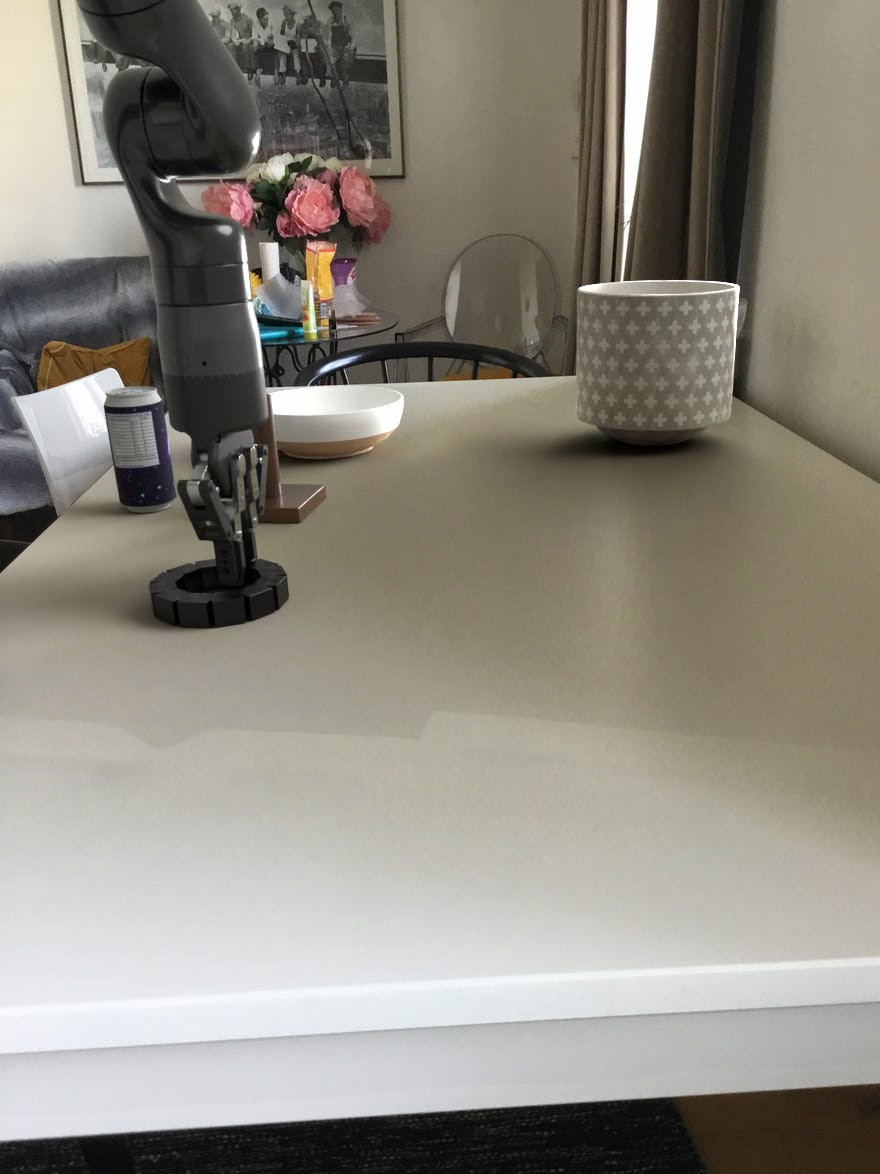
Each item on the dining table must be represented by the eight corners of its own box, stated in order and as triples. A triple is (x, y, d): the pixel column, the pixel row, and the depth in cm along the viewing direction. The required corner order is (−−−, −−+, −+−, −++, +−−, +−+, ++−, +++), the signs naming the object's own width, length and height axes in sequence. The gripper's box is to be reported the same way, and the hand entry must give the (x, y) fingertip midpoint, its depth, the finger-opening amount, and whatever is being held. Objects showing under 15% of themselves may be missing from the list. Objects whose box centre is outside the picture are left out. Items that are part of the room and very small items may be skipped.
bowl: (426, 434, 138) (423, 387, 136) (374, 470, 121) (370, 417, 119) (289, 430, 143) (285, 384, 141) (221, 464, 126) (214, 413, 124)
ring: (129, 625, 79) (125, 600, 78) (186, 578, 89) (182, 555, 88) (261, 629, 78) (258, 604, 77) (304, 581, 87) (302, 558, 86)
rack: (212, 521, 104) (197, 404, 100) (245, 496, 112) (232, 387, 108) (300, 523, 103) (288, 404, 98) (326, 498, 111) (316, 387, 106)
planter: (736, 456, 122) (747, 293, 115) (572, 456, 125) (573, 296, 118) (721, 423, 140) (731, 279, 133) (578, 423, 142) (579, 281, 135)
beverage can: (188, 505, 110) (171, 389, 105) (139, 518, 106) (119, 397, 101) (159, 496, 113) (142, 383, 108) (110, 508, 109) (90, 391, 105)
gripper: (225, 379, 73) (253, 611, 80) (289, 350, 86) (309, 553, 92) (124, 379, 74) (160, 608, 81) (202, 351, 87) (227, 551, 94)
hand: (239, 577), depth 87 cm, fingers closed on ring, 2 cm apart
